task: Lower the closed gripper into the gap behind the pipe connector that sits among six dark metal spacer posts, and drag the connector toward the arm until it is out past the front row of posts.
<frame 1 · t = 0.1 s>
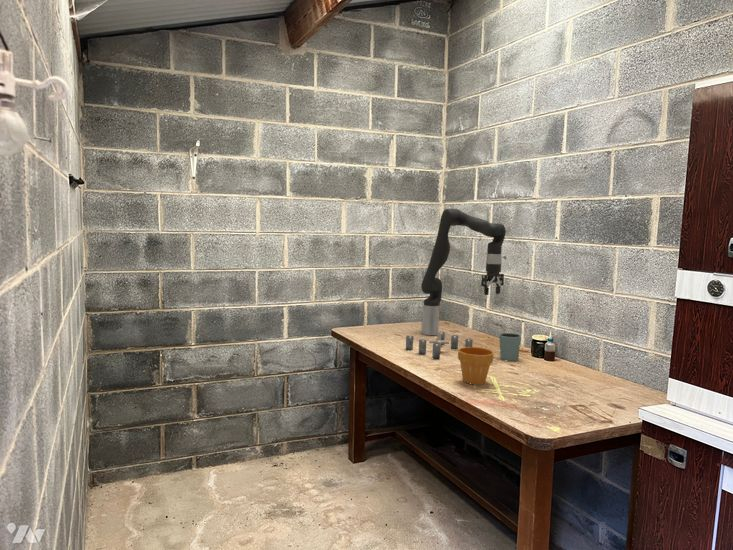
hand: (492, 294, 269), 29 cm above the table, tool pointing down, fingers open, 8 cm apart
flower pot: (474, 382, 215), on the table
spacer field: (438, 351, 266), on the table
grey-blue tapered bin: (508, 359, 255), on the table
pipe connector: (438, 351, 266), on the table
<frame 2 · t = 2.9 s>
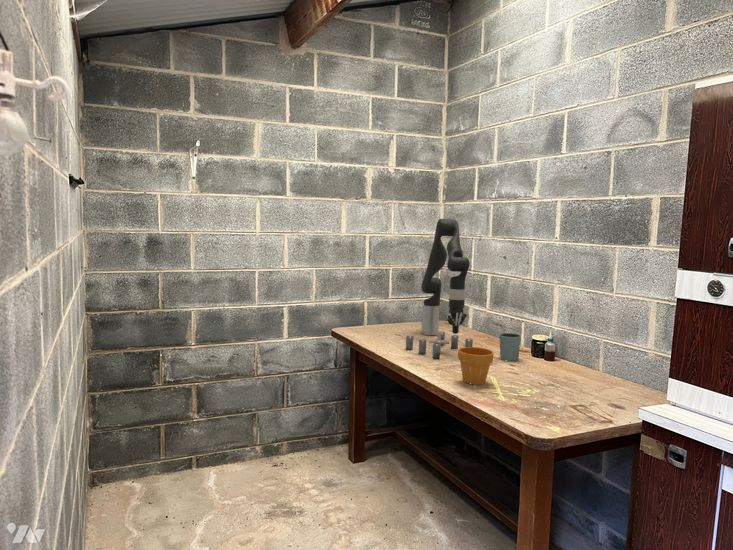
hand: (455, 333, 256), 11 cm above the table, tool pointing down, fingers closed
nothing on the table moved.
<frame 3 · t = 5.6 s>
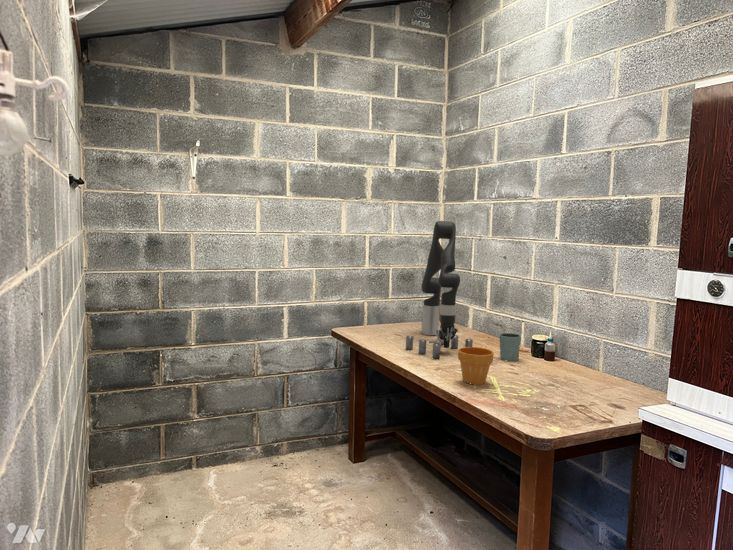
hand: (446, 347, 262), 3 cm above the table, tool pointing down, fingers closed
pipe connector: (438, 351, 266), on the table, touching gripper
everything else where it was.
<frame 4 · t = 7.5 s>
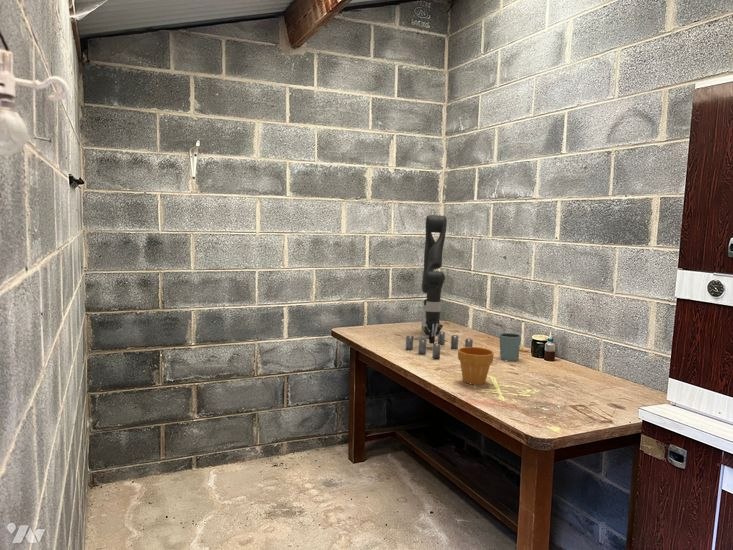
hand: (431, 343, 270), 3 cm above the table, tool pointing down, fingers closed
pipe connector: (424, 347, 274), on the table, touching gripper
everything else where it was.
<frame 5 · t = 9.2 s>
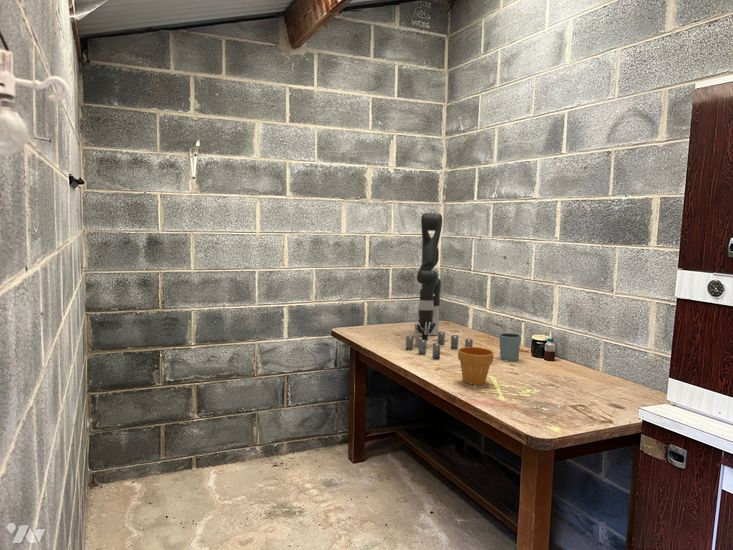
hand: (424, 341, 274), 3 cm above the table, tool pointing down, fingers closed
pipe connector: (417, 345, 278), on the table, touching gripper
everything else where it was.
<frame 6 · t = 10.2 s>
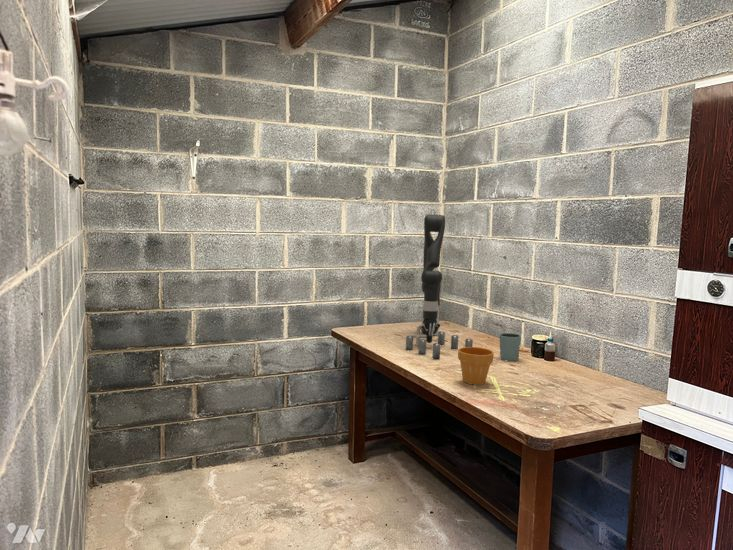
hand: (429, 342, 271), 3 cm above the table, tool pointing down, fingers closed
pipe connector: (417, 345, 278), on the table
everything else where it was.
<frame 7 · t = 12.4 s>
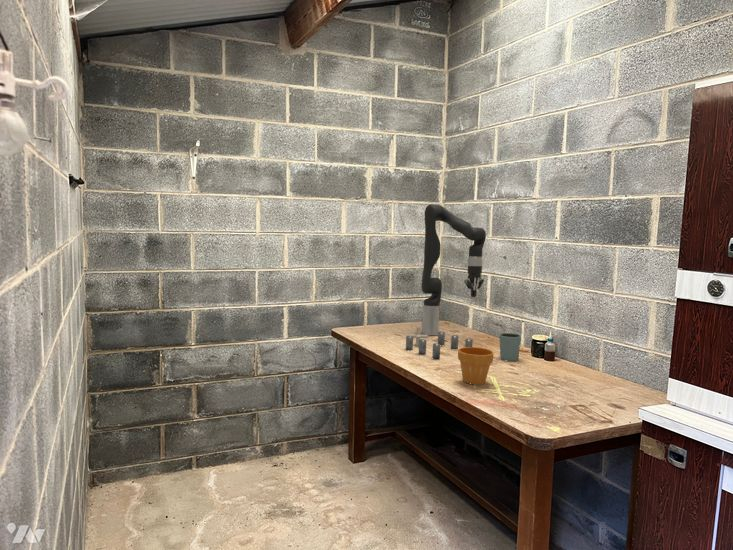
hand: (473, 296, 283), 26 cm above the table, tool pointing down, fingers closed
nothing on the table moved.
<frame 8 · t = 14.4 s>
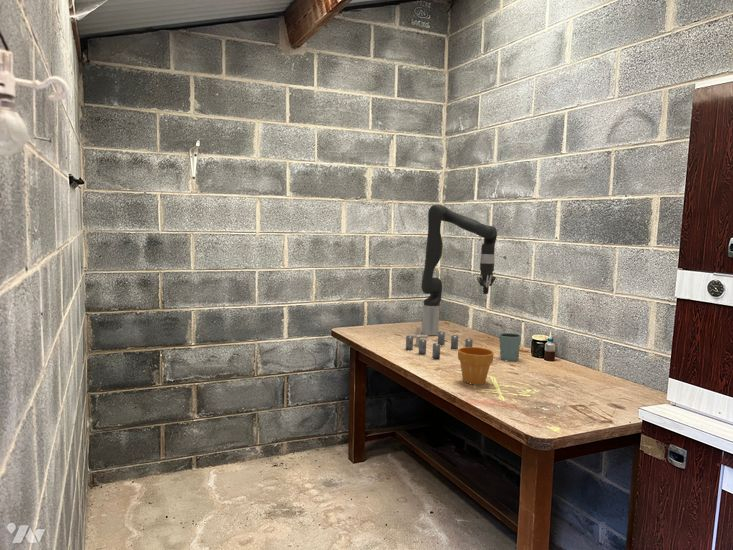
hand: (485, 293, 288), 27 cm above the table, tool pointing down, fingers closed
nothing on the table moved.
at the end: pipe connector inside the target area (5.5 cm from its centre), on the table; pipe connector tilted 1°; the gripper is holding nothing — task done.
